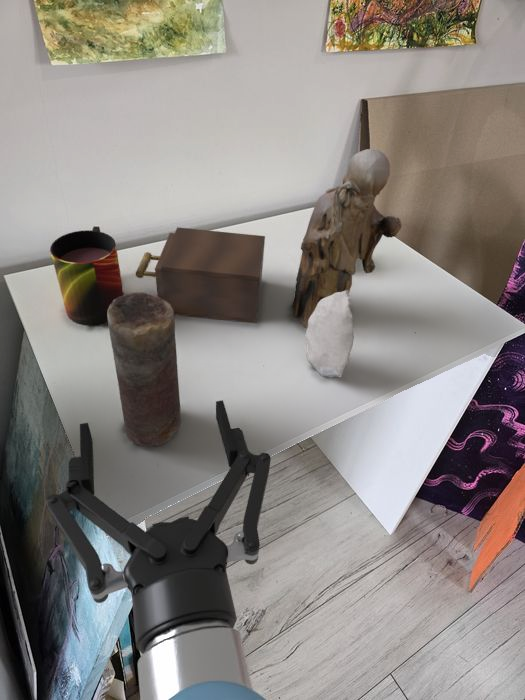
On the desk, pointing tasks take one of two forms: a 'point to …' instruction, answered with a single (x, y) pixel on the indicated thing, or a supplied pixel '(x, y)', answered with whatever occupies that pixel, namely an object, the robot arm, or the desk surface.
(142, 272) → the dresser drawer
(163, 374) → the candle
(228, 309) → the dresser
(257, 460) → the robot arm
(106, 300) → the mug
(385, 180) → the sculpture
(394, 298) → the desk surface
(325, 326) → the stone tool
